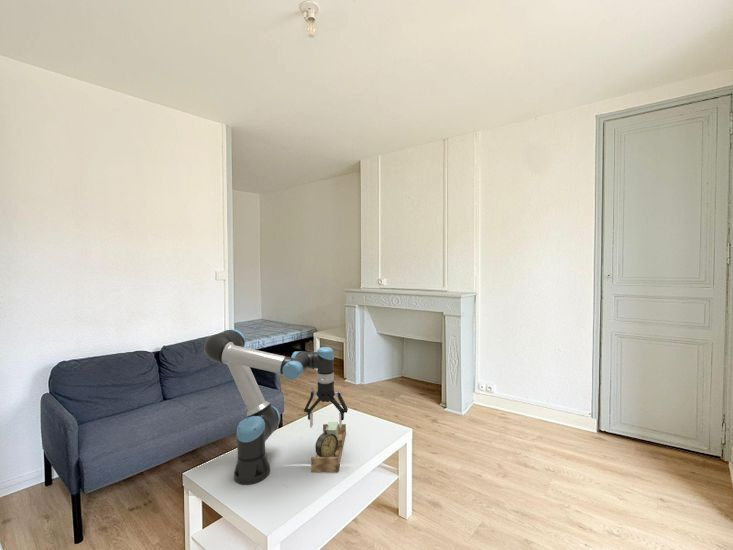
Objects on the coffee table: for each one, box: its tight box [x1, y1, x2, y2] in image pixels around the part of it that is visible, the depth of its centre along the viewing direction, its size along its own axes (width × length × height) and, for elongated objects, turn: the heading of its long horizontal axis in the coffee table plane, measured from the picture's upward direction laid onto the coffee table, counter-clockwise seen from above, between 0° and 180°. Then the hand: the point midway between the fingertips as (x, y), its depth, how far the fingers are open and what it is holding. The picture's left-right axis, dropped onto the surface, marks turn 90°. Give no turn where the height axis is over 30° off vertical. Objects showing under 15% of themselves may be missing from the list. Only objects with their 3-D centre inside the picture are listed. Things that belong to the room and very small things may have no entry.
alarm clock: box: [314, 423, 338, 457], centre depth 163 cm, size 11×5×16 cm, turn 138°
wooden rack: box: [310, 423, 347, 473], centre depth 171 cm, size 12×33×6 cm, turn 178°
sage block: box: [326, 421, 339, 439], centre depth 179 cm, size 5×9×8 cm, turn 178°
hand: (326, 426), depth 163 cm, fingers open, 13 cm apart
